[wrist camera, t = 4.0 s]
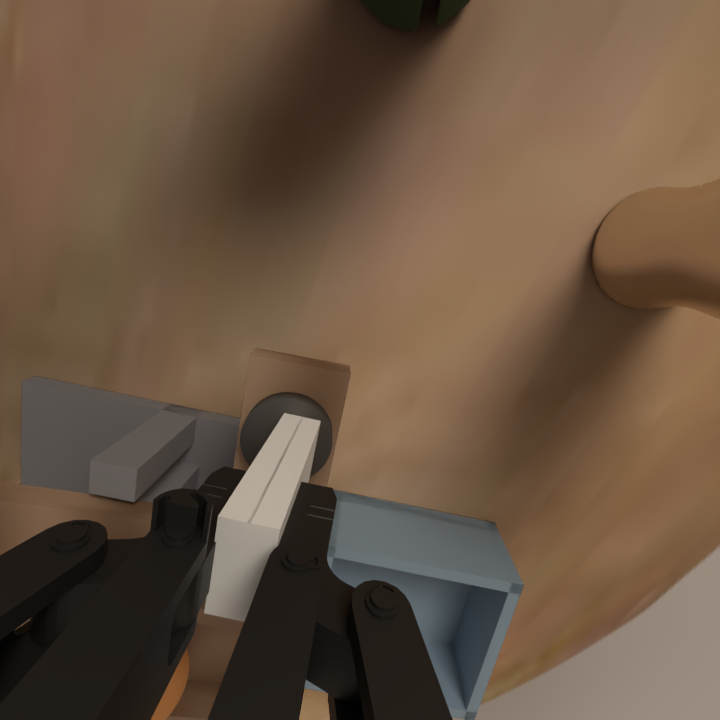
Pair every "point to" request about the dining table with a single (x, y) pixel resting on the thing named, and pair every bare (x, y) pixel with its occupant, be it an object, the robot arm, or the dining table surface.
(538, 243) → the dining table surface
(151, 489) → the lever base
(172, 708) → the ball
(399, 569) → the cup
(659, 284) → the beer glass
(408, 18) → the character mug
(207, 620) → the tilt lever
